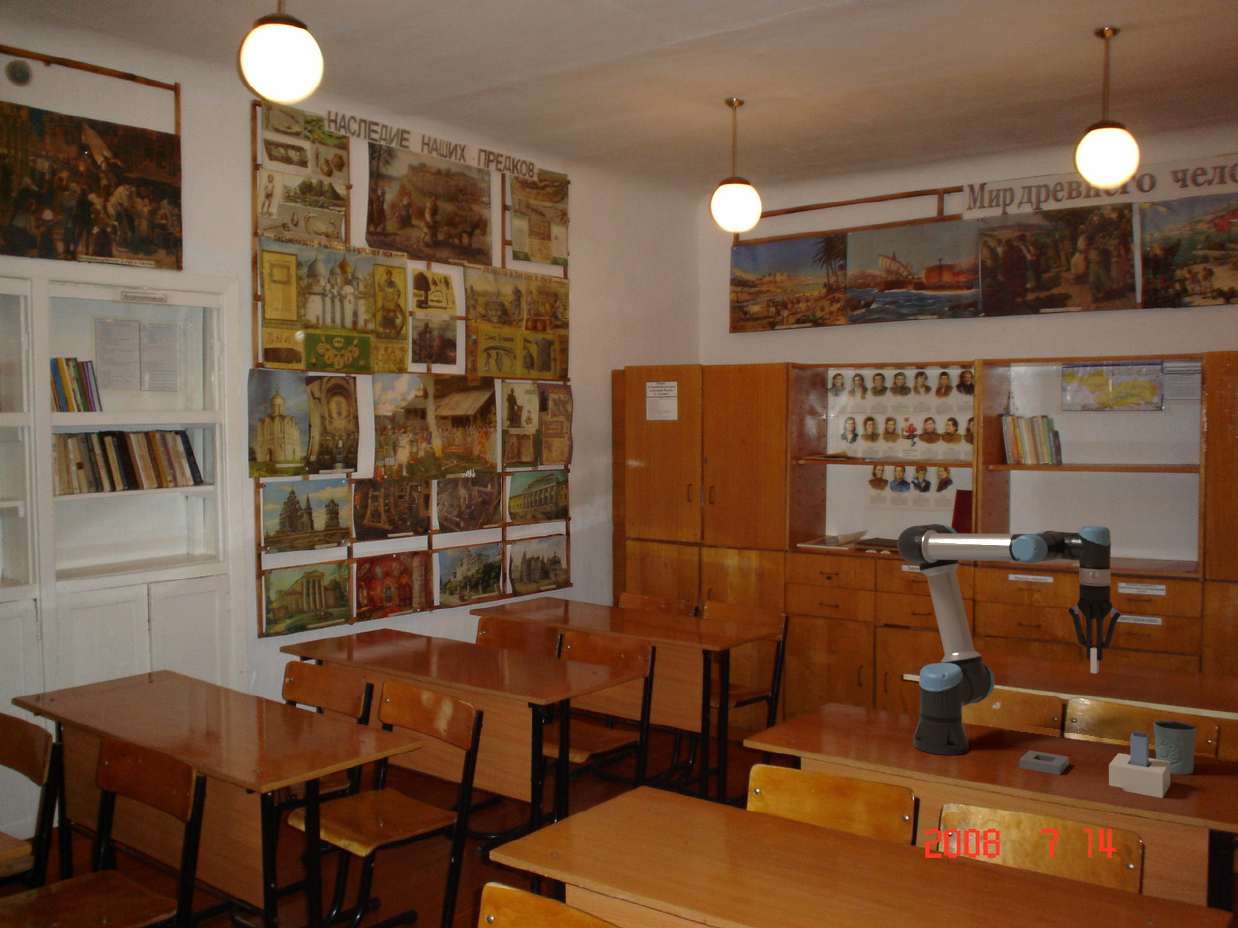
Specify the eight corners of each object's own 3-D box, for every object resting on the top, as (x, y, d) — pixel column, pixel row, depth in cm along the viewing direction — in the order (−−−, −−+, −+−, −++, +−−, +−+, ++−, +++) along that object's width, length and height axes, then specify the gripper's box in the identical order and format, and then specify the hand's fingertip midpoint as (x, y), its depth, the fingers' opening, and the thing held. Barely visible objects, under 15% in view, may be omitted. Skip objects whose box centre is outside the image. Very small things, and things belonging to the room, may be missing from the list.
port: (1108, 788, 249) (1109, 764, 249) (1118, 775, 259) (1118, 752, 259) (1162, 797, 242) (1162, 773, 242) (1170, 784, 251) (1170, 761, 251)
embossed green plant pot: (1155, 772, 261) (1155, 727, 261) (1150, 761, 271) (1151, 718, 270) (1199, 777, 257) (1199, 731, 257) (1193, 765, 267) (1193, 721, 267)
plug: (1130, 782, 250) (1130, 732, 250) (1132, 778, 253) (1133, 729, 253) (1146, 785, 248) (1146, 734, 248) (1148, 781, 251) (1148, 731, 250)
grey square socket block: (1019, 770, 263) (1019, 759, 263) (1029, 760, 271) (1029, 750, 271) (1059, 777, 257) (1059, 766, 257) (1068, 767, 265) (1068, 756, 265)
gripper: (1065, 583, 264) (1065, 671, 264) (1118, 587, 256) (1118, 677, 256) (1071, 580, 270) (1071, 666, 270) (1124, 584, 262) (1124, 672, 262)
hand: (1094, 671), depth 263 cm, fingers closed
